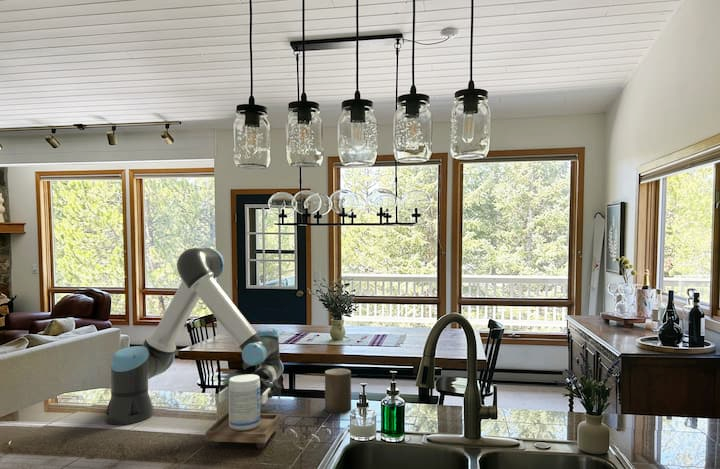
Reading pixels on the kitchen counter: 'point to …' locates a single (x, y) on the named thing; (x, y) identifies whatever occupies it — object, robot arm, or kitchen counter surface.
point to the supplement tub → (244, 402)
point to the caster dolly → (255, 435)
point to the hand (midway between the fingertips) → (241, 398)
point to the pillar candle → (338, 390)
